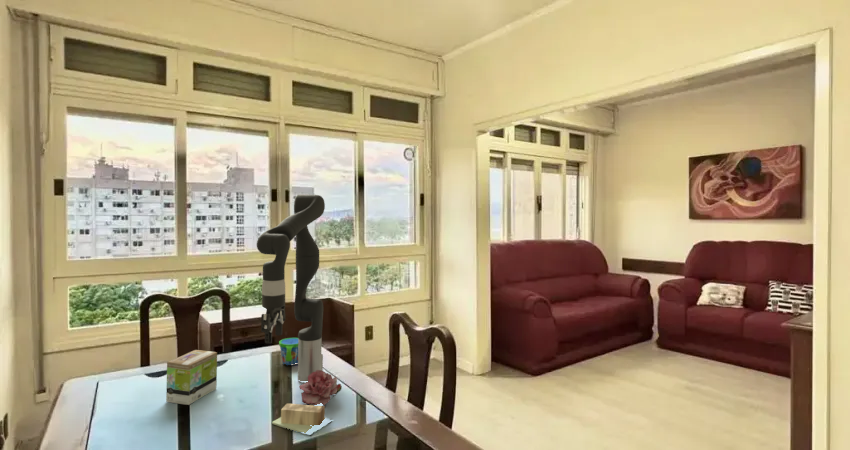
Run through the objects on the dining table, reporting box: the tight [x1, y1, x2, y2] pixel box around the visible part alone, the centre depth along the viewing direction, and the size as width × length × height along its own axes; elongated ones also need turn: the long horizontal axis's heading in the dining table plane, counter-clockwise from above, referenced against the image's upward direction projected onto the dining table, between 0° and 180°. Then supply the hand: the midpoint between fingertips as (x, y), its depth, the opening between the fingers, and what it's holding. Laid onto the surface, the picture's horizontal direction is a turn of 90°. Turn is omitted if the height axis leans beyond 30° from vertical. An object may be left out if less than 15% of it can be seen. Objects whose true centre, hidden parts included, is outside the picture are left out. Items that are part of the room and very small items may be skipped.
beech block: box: [280, 403, 326, 426], centre depth 151 cm, size 5×5×13 cm
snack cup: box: [278, 337, 298, 366], centre depth 204 cm, size 16×10×10 cm
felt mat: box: [271, 416, 312, 433], centre depth 151 cm, size 11×16×1 cm
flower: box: [298, 370, 343, 406], centre depth 168 cm, size 15×15×10 cm
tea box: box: [165, 349, 218, 406], centre depth 169 cm, size 15×10×15 cm, turn 168°
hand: (273, 338), depth 157 cm, fingers open, 8 cm apart
